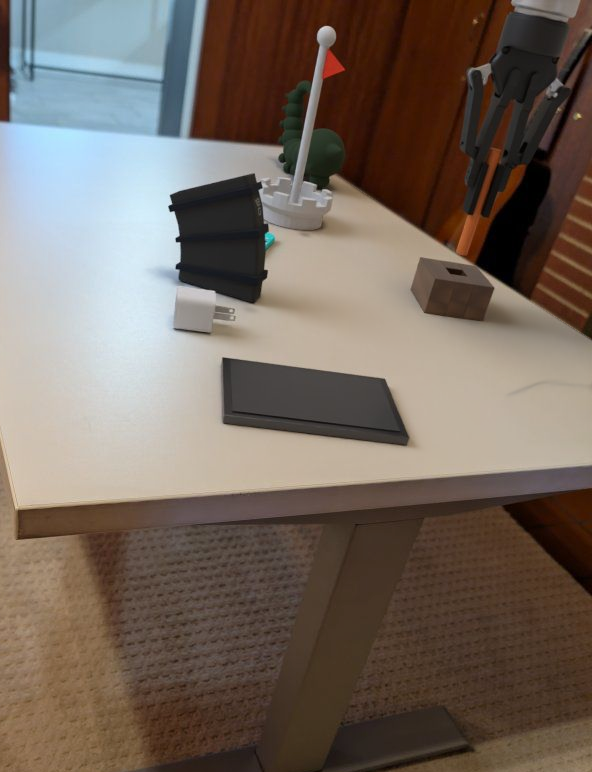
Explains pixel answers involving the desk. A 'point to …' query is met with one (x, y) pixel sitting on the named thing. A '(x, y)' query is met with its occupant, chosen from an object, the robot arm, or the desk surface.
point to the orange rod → (478, 204)
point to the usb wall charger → (198, 310)
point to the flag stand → (303, 160)
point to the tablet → (309, 401)
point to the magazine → (222, 236)
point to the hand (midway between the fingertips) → (475, 212)
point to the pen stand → (451, 289)
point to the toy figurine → (323, 145)
